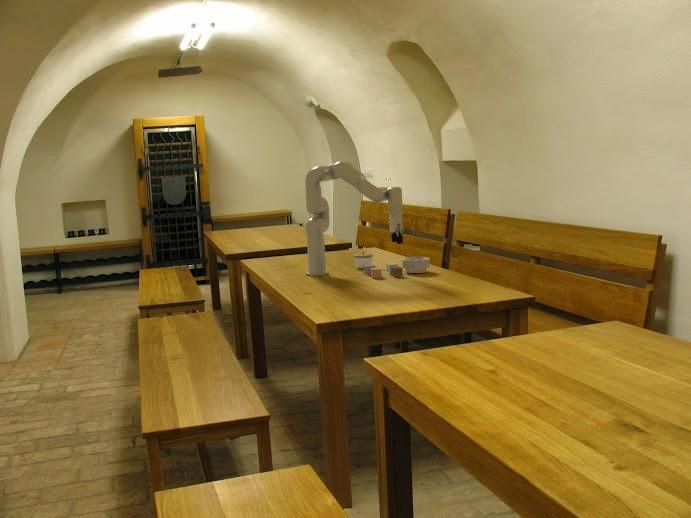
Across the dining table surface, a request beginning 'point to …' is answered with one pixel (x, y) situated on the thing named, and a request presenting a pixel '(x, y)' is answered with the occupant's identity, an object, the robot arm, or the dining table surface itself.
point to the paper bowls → (415, 264)
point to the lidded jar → (363, 259)
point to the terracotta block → (376, 273)
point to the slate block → (367, 269)
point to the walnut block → (396, 271)
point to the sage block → (390, 266)
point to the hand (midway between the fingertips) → (397, 242)
